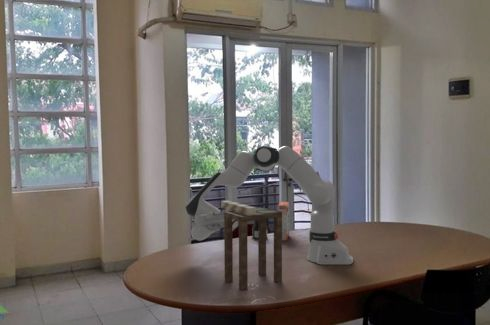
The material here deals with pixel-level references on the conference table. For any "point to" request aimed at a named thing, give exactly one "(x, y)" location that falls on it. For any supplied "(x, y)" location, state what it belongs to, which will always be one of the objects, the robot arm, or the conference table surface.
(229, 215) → the stand
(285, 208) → the cracker box
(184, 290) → the conference table surface
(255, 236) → the ink bottle
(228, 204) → the bar
